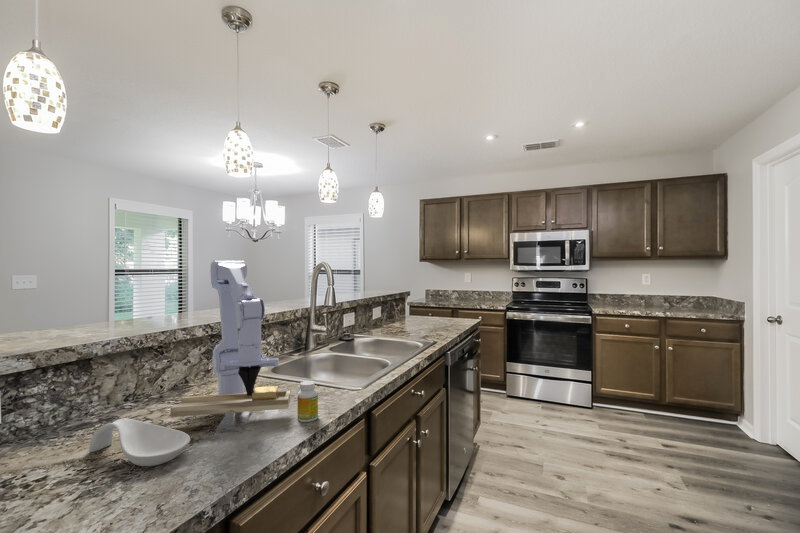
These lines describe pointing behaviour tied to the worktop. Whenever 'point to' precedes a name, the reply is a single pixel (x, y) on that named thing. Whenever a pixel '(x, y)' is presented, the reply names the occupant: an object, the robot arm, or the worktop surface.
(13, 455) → the worktop surface
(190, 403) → the beam
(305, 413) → the supplement bottle
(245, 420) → the stand
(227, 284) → the robot arm
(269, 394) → the block
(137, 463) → the spoon rest
